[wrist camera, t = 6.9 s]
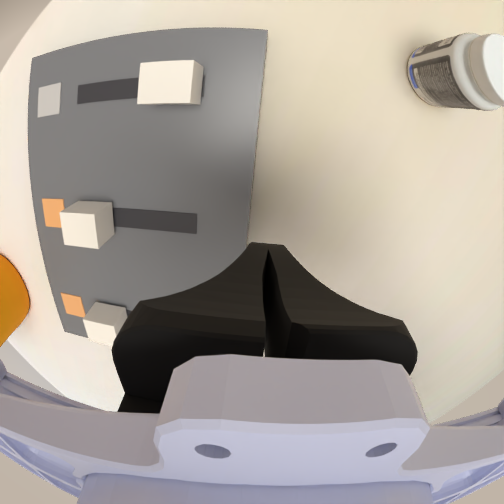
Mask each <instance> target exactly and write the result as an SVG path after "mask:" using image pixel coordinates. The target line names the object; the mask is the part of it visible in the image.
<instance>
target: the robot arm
mask: <svg viewBox="0 0 504 504" xmlns="http://www.w3.org/2000/svg"><path fill="white" fill-rule="evenodd" d="M264 350H265V357H263V352H264ZM417 353H418V351H417V348H416V345H415V343H414V341H413V339H412V337H411V335H410V333H409V331H408V329H407V327H406V325H405V324H404V322H403V321H402V320H399V319H396V318H392V317H389V316H386V315H383V314H379V313H376V312H374V311H371V310H369V309H367V308H364V307H362V306H359V305H357V304H355V303H353V302H351V301H349V300H347V299H346V298H344V297H342V296H340V295H338V294H337V293H335V292H334V291H332V290H331V289H329V288H328V287H326V286H325V285H324V284H322V283H321V282H319V281H318V280H317V279H316V278H315V277H313V276H312V275H311V274H310V273H309V272H308V271H307V270H306V269H305V268H304V267H303V266H302V265H301V264H300V263H299V262H298V261H297V260H296V259H295V258H294V257H293V256H292V254H291V253H290V252H289V251H288V250H287V248H286V247H285V246H284V245H277V244H266V243H254V242H251V243H250V244H249V245H248V246H247V248H246V249H245V250H244V251H243V253H242V254H241V255H240V256H239V257H238V258H237V259H236V260H235V261H234V262H233V263H232V264H230V265H229V266H228V267H227V268H226V269H225V270H223V271H222V272H221V273H219V274H218V275H216V276H215V277H213V278H211V279H209V280H208V281H205V282H203V283H201V284H199V285H197V286H195V287H193V288H190V289H187V290H184V291H182V292H178V293H175V294H172V295H168V296H163V297H158V298H153V299H148V300H141V301H139V302H138V304H137V305H136V306H135V308H134V309H133V310H132V311H131V313H130V314H129V316H128V317H127V319H126V321H125V322H124V324H123V326H122V327H121V329H120V331H119V333H118V334H117V336H116V338H115V340H114V342H113V346H112V356H113V361H114V364H115V367H116V370H117V373H118V375H119V378H120V381H121V384H122V386H123V389H124V392H125V395H124V397H123V400H122V402H121V404H120V407H119V409H118V412H112V411H104V410H101V409H98V408H95V407H92V406H88V405H85V404H83V403H80V402H77V401H74V400H71V399H68V398H66V397H63V396H60V395H58V394H55V393H53V392H50V391H48V390H45V389H43V388H41V387H38V386H36V385H34V384H32V383H29V382H27V381H25V380H23V379H21V378H19V377H17V376H15V375H13V374H11V373H8V372H7V371H6V368H5V366H4V364H3V362H2V361H1V359H0V451H1V452H2V453H3V454H5V455H6V456H7V457H9V458H11V459H12V460H13V461H15V462H16V463H18V464H19V465H21V466H22V467H24V468H25V469H27V470H29V471H30V472H32V473H33V474H35V475H37V476H39V477H40V478H42V479H43V480H45V481H47V482H49V483H50V484H52V485H54V486H56V487H58V488H60V489H61V490H63V491H66V492H67V493H69V494H71V495H73V496H75V497H77V498H79V499H78V501H77V504H449V503H451V502H454V501H455V500H458V499H460V498H462V497H464V496H466V495H468V494H470V493H472V492H474V491H476V490H478V489H480V488H482V487H484V486H486V485H488V484H490V483H492V482H493V481H495V480H497V479H499V478H501V477H502V476H504V398H503V400H502V401H501V402H500V403H499V405H498V407H496V408H493V409H490V410H487V411H484V412H480V413H477V414H474V415H470V416H467V417H463V418H460V419H456V420H452V421H448V422H444V423H440V424H435V425H431V424H429V423H428V420H427V418H426V415H425V412H424V410H423V407H422V404H421V402H420V399H419V397H418V394H417V392H416V389H415V387H414V384H413V382H412V379H411V377H410V374H411V373H412V371H413V369H414V366H415V364H416V362H417Z"/></svg>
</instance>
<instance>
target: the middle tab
mask: <svg viewBox="0 0 504 504" xmlns="http://www.w3.org/2000/svg"><path fill="white" fill-rule="evenodd" d="M60 220H61V227H62V233H63V239H64V245H70V246H78V247H86V248H94V249H99V248H100V247H101V246H102V245H103V244H104V243H105V242H107V241H108V240H109V239H110V238H111V237H112V236H113V235H114V234H115V233H114V222H113V210H112V202H96V201H77V202H76V203H74V204H72V205H70V206H69V207H67V208H65V209H64V210H62V211H61V212H60Z"/></svg>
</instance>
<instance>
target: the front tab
mask: <svg viewBox="0 0 504 504" xmlns="http://www.w3.org/2000/svg"><path fill="white" fill-rule="evenodd" d="M203 70H204V67H203V66H202V65H200V64H199V63H197V62H196V61H195V60H176V61H158V62H145V63H140V73H139V84H138V97H137V104H147V105H162V104H197V105H200V102H201V90H202V80H203Z"/></svg>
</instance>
